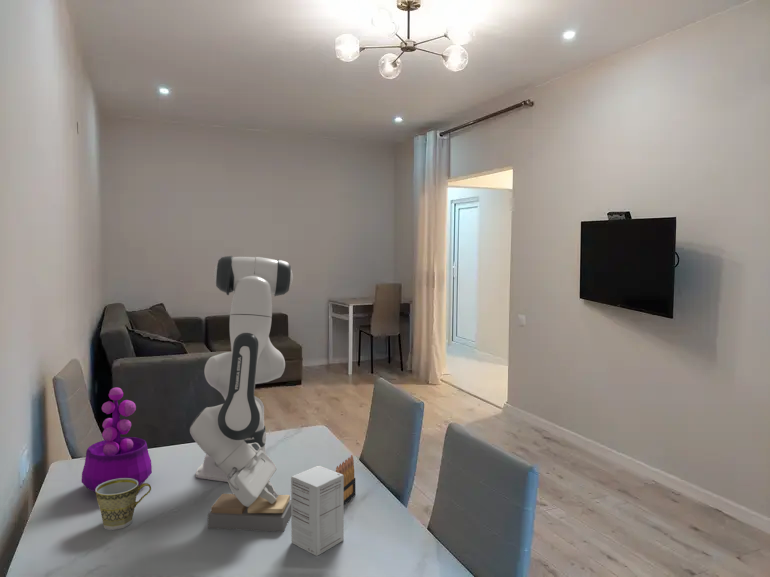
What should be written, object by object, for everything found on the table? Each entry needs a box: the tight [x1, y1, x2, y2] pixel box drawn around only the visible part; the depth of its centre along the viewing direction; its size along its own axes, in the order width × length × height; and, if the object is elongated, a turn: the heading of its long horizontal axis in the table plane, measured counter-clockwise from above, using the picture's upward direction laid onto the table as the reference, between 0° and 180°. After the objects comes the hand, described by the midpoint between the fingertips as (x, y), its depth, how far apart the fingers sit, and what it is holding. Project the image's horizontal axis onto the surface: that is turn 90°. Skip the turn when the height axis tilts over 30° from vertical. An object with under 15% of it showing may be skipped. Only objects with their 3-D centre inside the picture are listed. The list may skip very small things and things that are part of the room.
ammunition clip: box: [335, 454, 357, 506], centre depth 156 cm, size 11×2×12 cm, turn 157°
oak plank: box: [248, 494, 291, 513], centre depth 144 cm, size 9×8×1 cm
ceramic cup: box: [95, 478, 152, 531], centre depth 142 cm, size 13×10×10 cm
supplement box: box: [290, 465, 345, 557], centre depth 134 cm, size 10×9×17 cm
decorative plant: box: [81, 387, 153, 493], centre depth 162 cm, size 19×18×30 cm
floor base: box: [207, 493, 291, 533], centre depth 144 cm, size 20×10×5 cm, turn 86°
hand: (275, 500), depth 144 cm, fingers closed, pressing on oak plank
